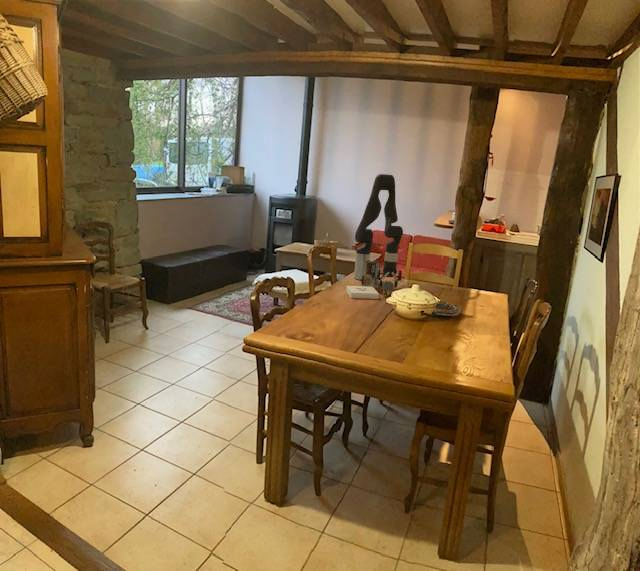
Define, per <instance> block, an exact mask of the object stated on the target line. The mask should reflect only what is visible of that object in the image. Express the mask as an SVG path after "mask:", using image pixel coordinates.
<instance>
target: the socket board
mask: <svg viewBox="0 0 640 571" xmlns="http://www.w3.org/2000/svg"><path fill="white" fill-rule="evenodd" d="M345 292H346V293H347V294H348V296H349V298H350V299H370V300H371V299H373V300H376V299H377V300H379V296H380V293H379V292H378V291H377V290H376V288H375V289H374V288H373V287H367V286H361V285H346V286H345Z"/></svg>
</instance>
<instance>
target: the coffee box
mask: <svg viewBox="0 0 640 571" xmlns="http://www.w3.org/2000/svg"><path fill="white" fill-rule="evenodd" d="M378 269H380V270H381V261H374V260H367V261H364V262H363V273H362V280H361V285H360V286H367V287H373V288H374V289H375V290H376V289H378V288H379V282H380V280H378V279H377V272H378Z"/></svg>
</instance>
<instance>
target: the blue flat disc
mask: <svg viewBox="0 0 640 571" xmlns="http://www.w3.org/2000/svg"><path fill="white" fill-rule="evenodd" d="M439 301H440V302H439V304H437V305H436V307H435V308H434V310H433V312H432V314H431V315H430V316H432V317H442V318H455V317H458V316H459V314H460V313H461V312H462V308H461V307H460V306H458V305H457V304H454V303H451V302H448V301H444V300H439Z"/></svg>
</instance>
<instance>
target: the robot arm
mask: <svg viewBox="0 0 640 571" xmlns="http://www.w3.org/2000/svg"><path fill="white" fill-rule="evenodd" d="M381 191H388V197H387V200H386V202H385V205H384V208H383V212H384V218H385V219H384V220H385V224H384V229H383V230H384V235H385V237H386V238H388V239H392V240H391V241H388V242H386V245H385V253H384V260H383V261H384V262H383V268H382V269H381V268H380V269H378V272H377V279H378V280H379V283H378V287H380V288H382V286H383V281H384V279H386V278H393V279H394V282H393V283H394V287H393V288H397V287H398V285H399V284H398V283H399V282H400V281H402V270H400V269H399V270H397V267H398V260H399V259H398V258H399V257H398V256H399V255H398V254H399V253H398V252H399V246H400V243H401V240H402V237H403V234H404V229H403V227H402V226H400V225H392V224H394V223H395V224H396V223H397V222H398V213H397V206H396V204H397V203H396V180H395V177H394V175H393V174H386V173H385V174H384V173H378V174H377V175H376V176H375V178H374V182H373V185H372V189H371V193H370V196H369V197H368V198H369V199H368V202H367V204H366V206H365V209H364V212H363V215H362V218H361V221H360V223H359V225H358V227H357V229H356V231H355V234H354V240H355V242H357V243H359V244H362V245H361V246H359V247H357V248H356V250H355V252H356V253H355V262H354V272H353V273H354V274H353V278H354V279H355V280H360V281H362V273H363V262H364V261H367V260H370V258H371V252H372V248H373V246H372V245H373V241H374V239H373V238H374V232H373V229H371V228H368V227H369V226H370V225H372V224H373V223H374V222H375V221H376V220H377V219H378V218H379V216H380V213H381V212H382V203H381V201H380V197H379V195H380V192H381ZM370 261H371V260H370ZM382 273H383V274H382ZM381 274H382V275H381ZM396 274H397V275H396ZM397 276H398V277H397Z"/></svg>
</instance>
